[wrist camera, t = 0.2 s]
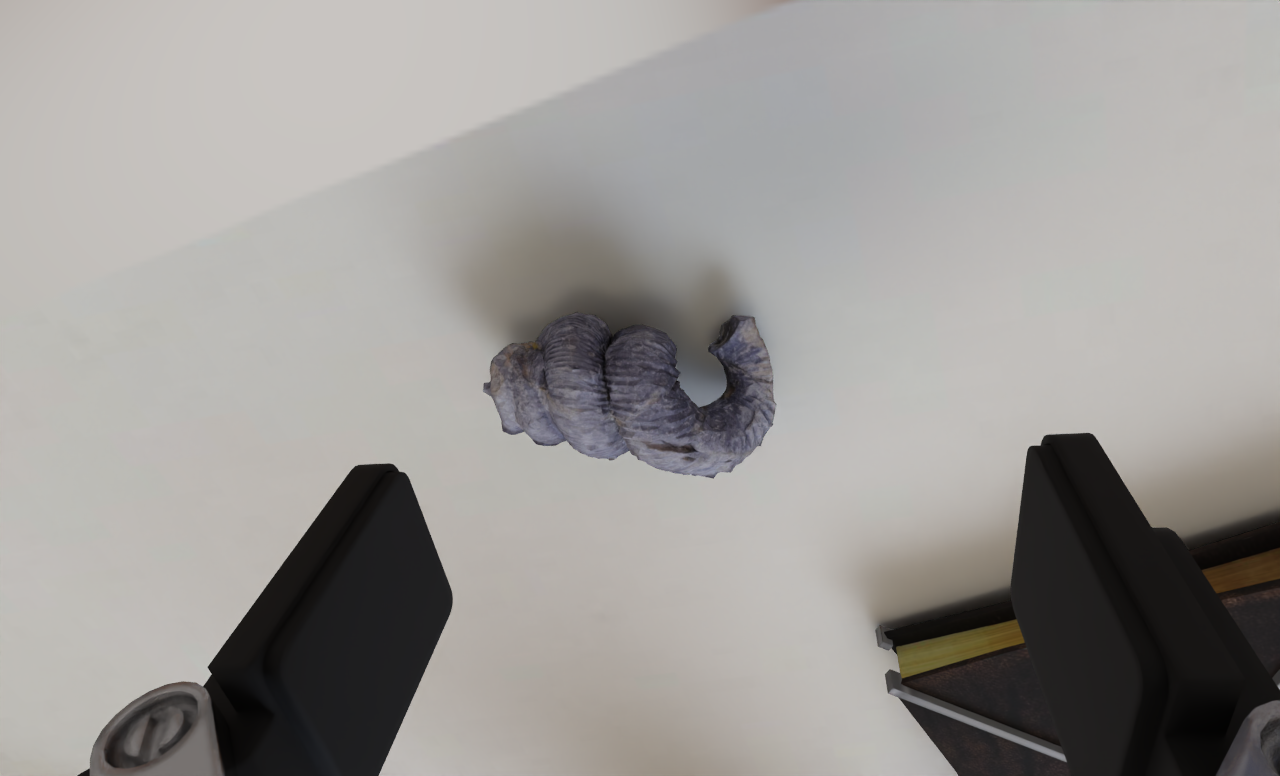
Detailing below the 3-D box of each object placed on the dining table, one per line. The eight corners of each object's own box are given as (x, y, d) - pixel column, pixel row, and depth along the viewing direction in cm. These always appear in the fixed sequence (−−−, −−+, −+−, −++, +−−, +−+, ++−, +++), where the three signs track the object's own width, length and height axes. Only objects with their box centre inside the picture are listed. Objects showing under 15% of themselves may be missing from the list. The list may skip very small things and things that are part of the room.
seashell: (777, 331, 28) (514, 332, 30) (775, 297, 23) (456, 302, 25) (776, 480, 28) (508, 472, 29) (774, 480, 22) (447, 471, 24)
